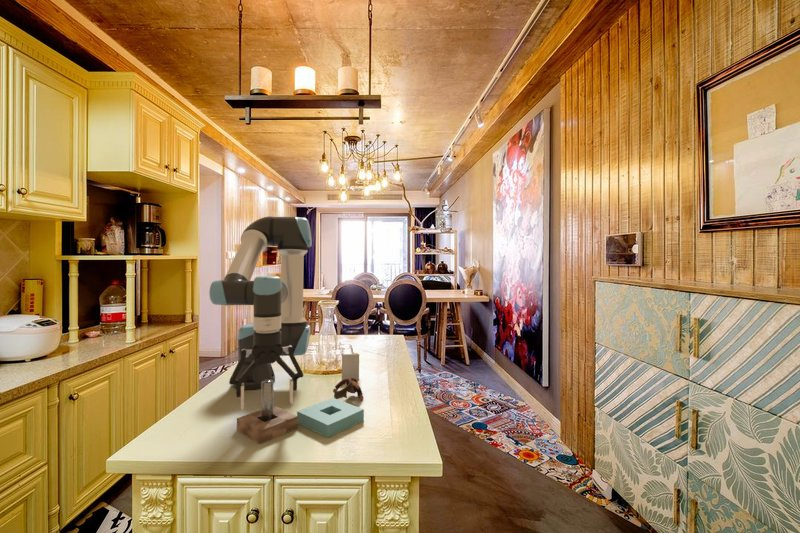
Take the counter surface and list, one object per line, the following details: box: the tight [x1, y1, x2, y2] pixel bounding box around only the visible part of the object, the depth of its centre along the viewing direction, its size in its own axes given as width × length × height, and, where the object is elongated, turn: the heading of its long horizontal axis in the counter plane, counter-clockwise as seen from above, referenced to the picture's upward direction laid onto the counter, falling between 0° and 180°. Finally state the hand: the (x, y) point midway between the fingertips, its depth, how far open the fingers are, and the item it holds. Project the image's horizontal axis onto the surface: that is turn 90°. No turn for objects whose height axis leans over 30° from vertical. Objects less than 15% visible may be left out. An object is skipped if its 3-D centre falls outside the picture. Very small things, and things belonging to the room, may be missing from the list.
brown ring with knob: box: [332, 378, 364, 402], centre depth 133 cm, size 12×10×8 cm
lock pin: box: [261, 379, 274, 422], centre depth 109 cm, size 3×3×14 cm
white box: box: [341, 353, 360, 381], centre depth 154 cm, size 4×7×10 cm, turn 95°
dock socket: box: [296, 397, 365, 438], centre depth 115 cm, size 14×14×4 cm
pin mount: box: [236, 405, 299, 444], centre depth 110 cm, size 12×12×4 cm
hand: (267, 404), depth 109 cm, fingers open, 12 cm apart
